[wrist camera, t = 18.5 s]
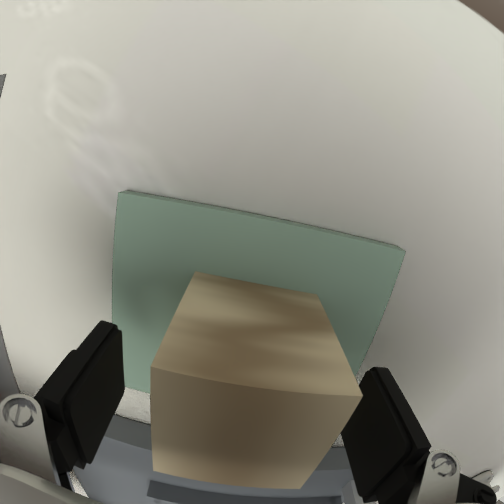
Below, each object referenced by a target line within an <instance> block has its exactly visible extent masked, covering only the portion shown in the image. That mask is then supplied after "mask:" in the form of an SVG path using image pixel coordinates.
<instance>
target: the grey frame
mask: <svg viewBox="0 0 504 504" xmlns="http://www.w3.org/2000/svg"><path fill="white" fill-rule="evenodd" d="M73 470H74V472H75V474H76V476H77V478H78V480H79V482H80V483H81V485H82V487H83V489H84V490H85V492H86V494H87V495H88V497H89V498H90V499H93V500H95V501H98V502H101V503H104V504H342V503H343V502H344V503H345V504H376V502H370V503H363V499H362V497H360V496H359V495H358V493H357V489H356V485H355V482H354V478H353V474H352V471H351V467H350V464H349V460H348V456H347V453H346V449H345V447H336V448H330V449H329V451H328V452H327V454H326V455H325V456H324V458H323V459H322V461H321V462H320V463H319V465H318V466H317V467H316V469H315V470H314V472H313V473H312V474H311V475H310V477H309V478H308V479H307V481H306V482H305V483H304V484H303V486H302V487H301V488H300V489H274V488H256V487H244V486H234V485H225V484H218V483H211V482H205V481H199V480H193V479H188V478H183V477H178V476H173V475H169V474H165V473H160V472H156V471H153V460H152V442H151V425H148V424H144V423H140V422H137V421H133V420H130V419H127V418H123V417H120V416H117V415H113V417H112V420H111V422H110V424H109V426H108V428H107V430H106V433H105V435H104V437H103V439H102V441H101V444H100V446H99V448H98V450H97V453H96V455H95V457H94V460H93V462H92V463H91V464H88V463H86V466H85V468H84V470H83V469H80V468H78V467H76V466H74V467H73Z"/></svg>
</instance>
